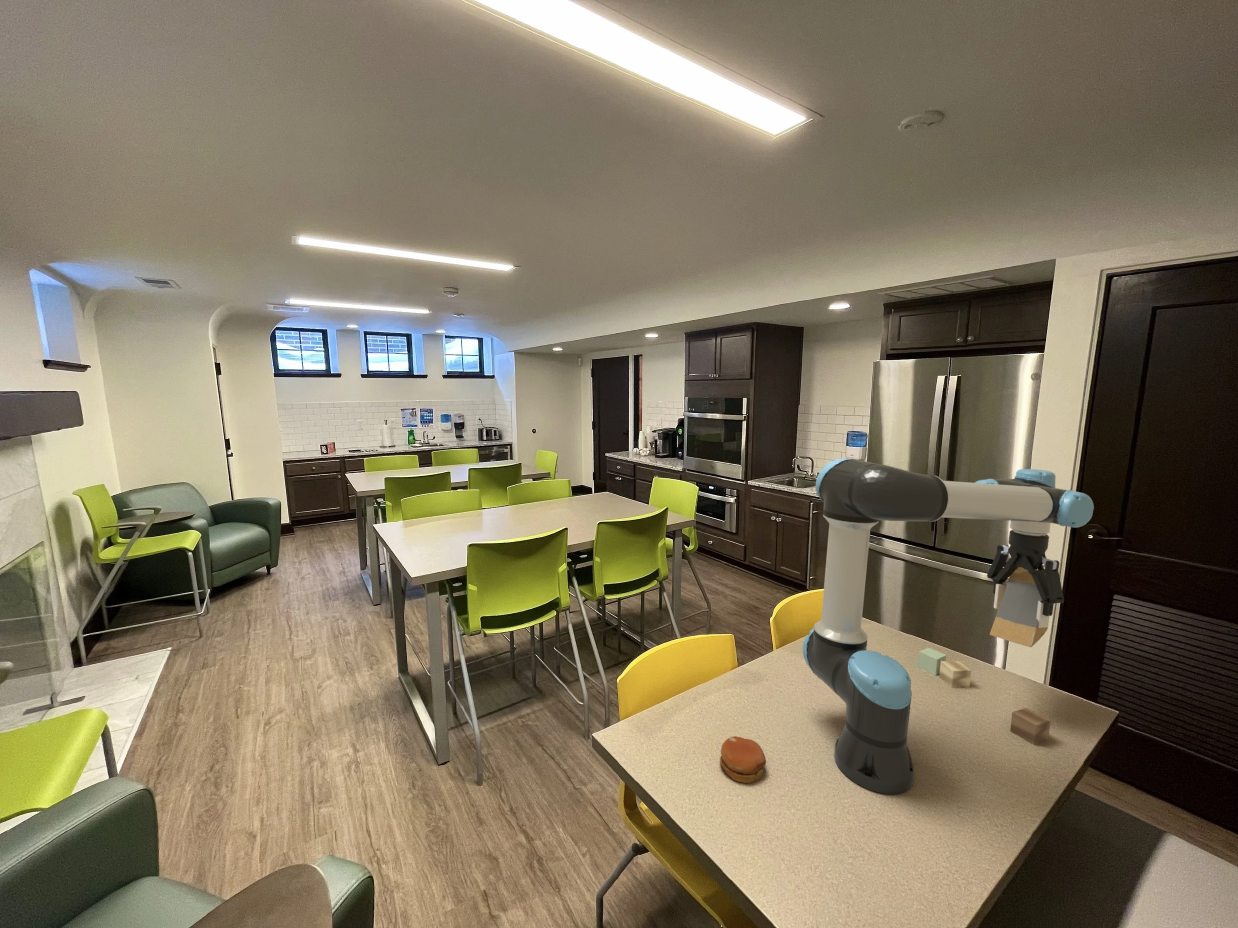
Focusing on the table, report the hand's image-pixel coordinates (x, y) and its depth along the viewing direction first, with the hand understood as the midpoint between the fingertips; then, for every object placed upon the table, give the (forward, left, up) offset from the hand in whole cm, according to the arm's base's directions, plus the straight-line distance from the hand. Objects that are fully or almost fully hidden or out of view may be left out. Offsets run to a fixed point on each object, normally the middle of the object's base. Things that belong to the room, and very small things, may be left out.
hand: (1019, 616), depth 123 cm
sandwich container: (-1, -1, -4) cm, 4 cm away
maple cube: (-6, +11, -24) cm, 27 cm away
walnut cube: (-7, -11, -24) cm, 27 cm away
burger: (-78, -9, -24) cm, 82 cm away
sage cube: (-7, +18, -24) cm, 31 cm away
